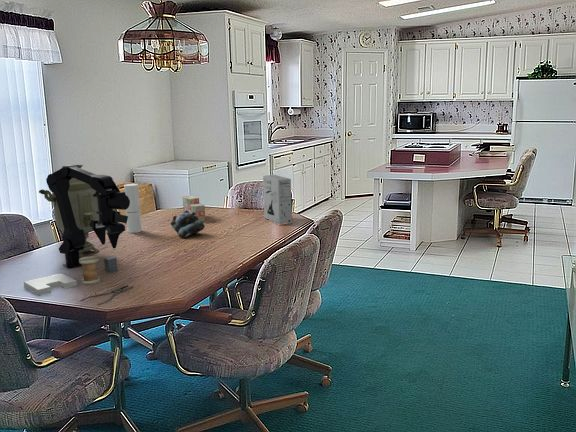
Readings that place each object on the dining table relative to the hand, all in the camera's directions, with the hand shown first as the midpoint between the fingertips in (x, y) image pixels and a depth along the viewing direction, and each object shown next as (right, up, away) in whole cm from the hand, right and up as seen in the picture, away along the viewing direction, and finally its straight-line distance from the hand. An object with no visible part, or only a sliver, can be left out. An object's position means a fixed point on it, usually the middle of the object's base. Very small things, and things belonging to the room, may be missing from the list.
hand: (109, 246), depth 227 cm
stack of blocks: (+17, +10, +105) cm, 107 cm away
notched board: (-17, -14, -16) cm, 27 cm away
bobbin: (-3, -13, -11) cm, 17 cm away
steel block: (0, -10, +2) cm, 10 cm away
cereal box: (+66, +9, +92) cm, 113 cm away
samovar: (-22, -5, +30) cm, 38 cm away
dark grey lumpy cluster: (+21, +2, +62) cm, 66 cm away
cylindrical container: (-10, +4, +74) cm, 75 cm away
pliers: (+8, -16, -26) cm, 32 cm away
